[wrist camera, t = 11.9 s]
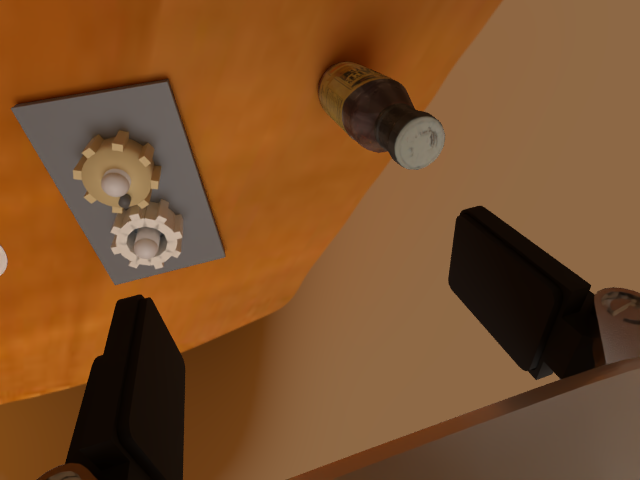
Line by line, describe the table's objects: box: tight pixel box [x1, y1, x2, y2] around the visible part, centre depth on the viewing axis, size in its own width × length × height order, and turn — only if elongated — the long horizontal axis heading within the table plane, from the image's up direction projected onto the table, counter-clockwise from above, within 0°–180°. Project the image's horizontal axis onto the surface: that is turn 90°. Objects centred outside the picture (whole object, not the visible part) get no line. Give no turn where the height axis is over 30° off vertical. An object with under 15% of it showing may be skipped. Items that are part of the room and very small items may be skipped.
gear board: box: [11, 79, 225, 285], centre depth 39 cm, size 22×14×8 cm, turn 7°
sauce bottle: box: [318, 62, 445, 170], centre depth 34 cm, size 7×6×20 cm
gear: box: [110, 199, 183, 269], centre depth 41 cm, size 7×7×4 cm
